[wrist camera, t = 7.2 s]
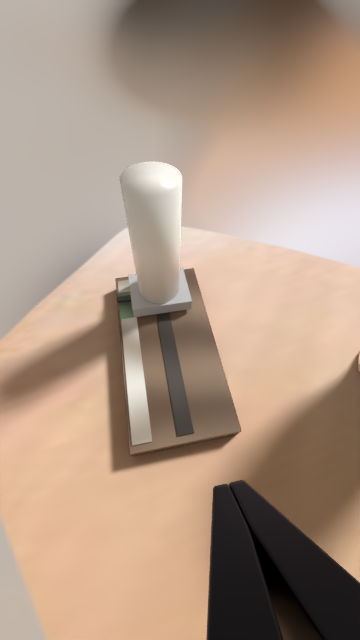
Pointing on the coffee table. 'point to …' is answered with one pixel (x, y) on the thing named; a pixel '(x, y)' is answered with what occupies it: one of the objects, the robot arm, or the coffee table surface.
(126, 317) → the board
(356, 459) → the coffee table surface
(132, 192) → the tuning slider
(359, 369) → the beer glass
